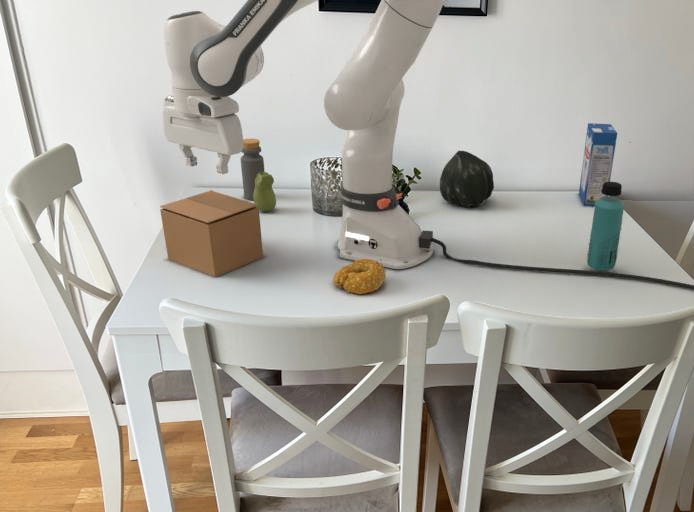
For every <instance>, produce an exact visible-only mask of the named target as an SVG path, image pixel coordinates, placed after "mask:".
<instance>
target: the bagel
mask: <svg viewBox="0 0 694 512" xmlns="http://www.w3.org/2000/svg"><path fill="white" fill-rule="evenodd" d="M386 273H387V272H386V270H385V267H383V265H381V264H380V263H379V262H377V261H374V260H371V259H361V260H356V261H352V263H350V264H346V265H344V266H342V267H340V268H339V269H338V270H337V271H336V272H335V273H334V275H333V277H332V282H333V285H334V286H335V287H337V288H340V289H344V290H345V291H346V292H347V293H353V294H356V295H365V294H367V293H372V292H374V291H376V290H378V289H379V288H381V286H382V285H383V284H384V283H385V280H386V277H387V274H386Z"/></svg>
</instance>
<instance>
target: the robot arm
mask: <svg viewBox="0 0 694 512" xmlns="http://www.w3.org/2000/svg"><path fill="white" fill-rule="evenodd" d="M317 1H318V0H247V1H246V2H245V3H244V4H243V5H242V7H241V8H240V9H238V11H237V13H236V14H235V15H234V16H233V17H232V18H231V20H230V21H229V22H228V23H227V24H226V25H223V24H221V23H220V22H217V21H216V20H215V19H212V18H211V17H210V16H208V15H207V14H206V13H205V12H203V11H201V10H193V11H187V12H182V13H178V14H173V15H171V16H169V17H168V18H167V19H166V21H165V22H164V27H163V28H164V30H163V33H164V34H163V35H164V47H165V54H166V55H165V56H166V61H167V64H168V67H169V69H170V73H171V81H170V86H171V93H172V95H167V96H166V97H165V98H164V100H163V108H162V109H163V110H162V123H163V125H162V126H163V133H164V137H165V139H166V140H167V141H168V142H169V143H174V144H178V146H179V150H180V152H181V154H182V155H183V157H184V160H185V165H186V166H188V167H195V166H197V165H198V161H197V160H198V157H197V156H195V155H194V152H193V151H192V148H196V149H199V150H204V151H208V152H212V153H216V154H217V158H218V159H219V160H218V164H216V165H215V169H216V173H217V174H220V175H226V174H228V173H229V166H228V165H229V162H230V161H231V160H230V159H231V156H233V155H238V154H240V153H242V152H241V151H242V149H243V139H244V136H243V135H244V134H243V128H242V123H241V119H240V118H239V116H238V115H237V113H239V111H240V105H239V103H238V102H237V101H236V100H235V99H233V98H232V97H231V96H233V95H234V94H236V93H237V92H238V91H239V90H240V89H241V88H242V87H244V86H246V85H248V83H250V82H251V81H252V80H254V79H256V78H257V77H258V76H259V75H260V73H261V72H262V70H263V68H264V62H265V56H264V52H263V49H262V45H263V44H264V43H265V42H266V40H267V39H268V38H269V37H270V35H271V34H273V32H274V31H275V29H277V27H278V26H279V25H280V24H281V23H282V22H283V21H284V20H286V19H287V18H289V17H290V16H291V15H293V14H295V13H296V12H298V11H299V10H302V9H303V8H305V7H308V6H309V5H312V4H313V3H316V2H317ZM444 3H445V0H380V2H379V4H378V6H377V9H376V10H375V13H374V15H373V17H372V19H371V21H370V23H369V26H368V27H367V29H366V31H365V34H364V35H363V37H362V38H361V40H360V41H359V42H358V44H357V45H356V47H355V49H354V50H353V52H352V53H351V54H350V56H349V57H348V59H347V61H346V62H345V64H344V66H343V68H342V69H341V71H340V72H339V74H338V75H337V77H336V78H335V80H334V81H333V82H332V84H331V85H330V86H329V87H328V88H327V90H326V92H325V94H324V98H323V108H324V112H325V114H326V116H327V118H328V120H329V121H330V123H332V125H334V126H335V127H336V128H338V129H340V130H343V131H347V132H346V137H345V141H344V144H343V146H342V150H341V177H342V179H341V180H342V184H341V186H340V203H341V204H342V217H341V225H340V233H339V237H338V241H337V249H338V250H339V258H341V259H345V260H349V261H353V262H355V261H356V260H361V259H371V260H374V261H377V262H379V263H380V264H381V265H383V267H384V268H389V269H393V270H403V269H409V268H411V267H412V268H413V267H415V266H417V265H420V264H422V263H423V262H425V261H427V260H428V259H430V258H431V257H432V255H433V253H434V251H433V250H434V249H433V247H432V244H433V243H434V244H436V245H439V247H441V249H442V255H443V256H444V257H445V258H446V259H448V260H450V261H454V262H457V263H461V264H465V265H477V266H482V267H488V268H496V269H497V268H499V269H508V270H509V269H510V270H519V271H529V272H546V273H556V274H557V273H559V274H574V275H575V274H576V275H587V276H600V277H601V276H602V277H612V278H620V279H621V278H622V279H630V280H637V281H638V280H639V281H645V282H650V283H651V282H652V283H657V284H662V285H668V286H674V287H679V288H685V289H690V290H694V284H689V283H684V282H680V281H675V280H674V281H673V280H669V279H664V278H657V277H651V276H643V275H638V274H628V273H620V272H610V271H601V270H587V269H573V268H555V267H542V266H541V267H540V266H527V265H516V264H515V265H514V264H505V263H494V262H486V261H482V260H475V259H461V258H460V259H459V258H456V257H455V258H454V257H452V256H451V255H450V254H448V252H447V246H446V244H445V243H444V242H443V241H441V240H439V239H436V238H434V231H433V230H424V229H423V230H422V228H421V226H420V225H419V224H418V223H417V222H416V221H415V220H414V219H413V217H411V216H410V215H409V214H408V213H407V211H406V210H404V209H403V207H402V206H400V204H399V203H400V202H399V200H400V199H402V198H403V196H402V195H403V192H400V193H397V192H396V189H395V186H394V185H393V159H394V157H393V156H394V155H393V154H394V144H395V140H396V133H397V128H398V122H399V117H400V116H399V115H400V110H401V105H402V103H403V100H404V96H405V90H406V89H405V83H404V79H403V78H404V77H405V75H406V74H407V72H408V71H409V70H410V68H411V67H412V66H414V63H415V62H416V61H417V58H418V56H419V55H420V52H421V51H422V49H423V47H424V45H425V43H426V41H427V39H428V37H429V36H430V33H431V31H432V29H433V28H434V26H435V24H436V22H437V20H438V18H439V15H440V14H441V11H442V8H443V6H444Z"/></svg>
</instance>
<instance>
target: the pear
mask: <svg viewBox="0 0 694 512" xmlns="http://www.w3.org/2000/svg"><path fill="white" fill-rule="evenodd" d="M274 182H275V180H274V177H273V175H272V174H269V173H268V172H267V171H265V172H259V174H257V177H256V178H255V189H254V193H253V198H254V200H253V203H254V204H258V206H256V207H258V208H259V212H260V211H261V212H264V213H267V212H271V211H272V210H274V209H275V208H276V206H277V197H276V193H275V191H274V189H273V185H274Z"/></svg>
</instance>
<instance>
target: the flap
mask: <svg viewBox="0 0 694 512" xmlns="http://www.w3.org/2000/svg"><path fill="white" fill-rule="evenodd" d="M187 198H188V197H185V198H181V199H179V200H175V201H171V202H168V203H166V204H162V205H160V208H161V209H163V208H164V209H167V210H170V211H173V212H176V213H179V214H182V215H185V216H188V217H191V218H194V219H197V220H200V221H203V222H206V223H210V222H213V221H216V220H219V219H222V218H225V217H228V216H231V215H233V214H234V213H232V212H228V211H225V210H222V209H219V208H216V207H212V206H209V205H206V204H203V203H200V202H196V201H193V200H190V199H187Z"/></svg>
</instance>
